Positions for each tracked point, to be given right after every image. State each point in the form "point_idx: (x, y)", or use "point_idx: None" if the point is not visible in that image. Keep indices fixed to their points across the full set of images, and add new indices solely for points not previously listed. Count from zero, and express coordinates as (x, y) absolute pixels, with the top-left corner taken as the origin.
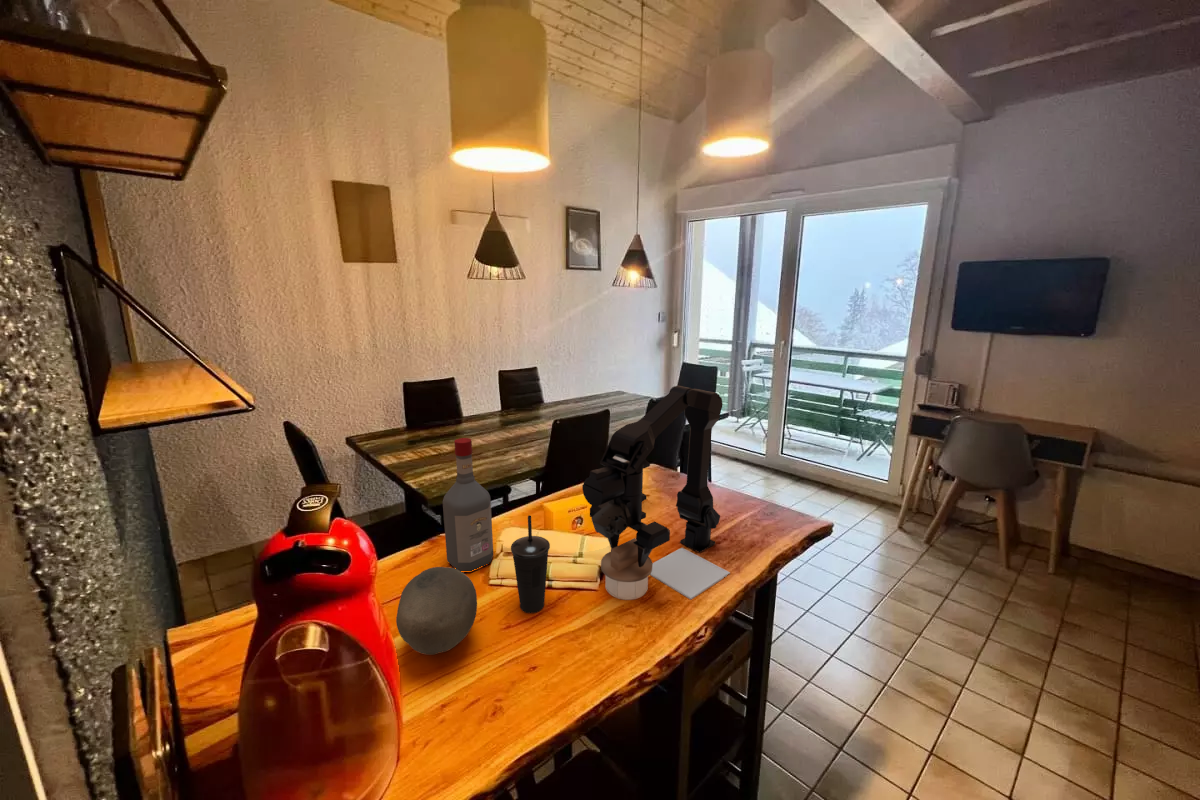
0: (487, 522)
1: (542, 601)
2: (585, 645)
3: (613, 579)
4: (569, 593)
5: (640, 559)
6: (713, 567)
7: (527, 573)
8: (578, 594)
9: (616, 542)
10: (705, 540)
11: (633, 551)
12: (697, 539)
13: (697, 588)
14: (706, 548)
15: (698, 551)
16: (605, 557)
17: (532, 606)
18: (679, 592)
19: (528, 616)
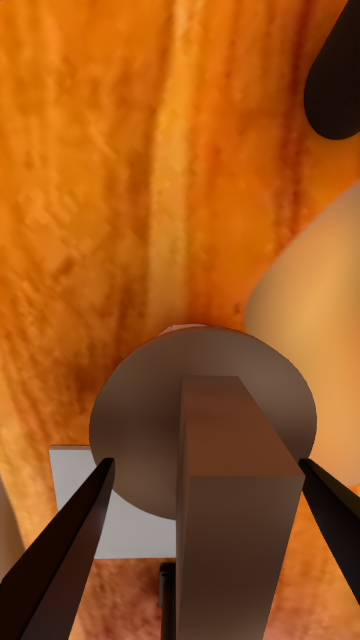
0: None
1: (328, 68)
2: (77, 93)
3: (176, 330)
4: (289, 238)
5: (51, 526)
6: (100, 550)
7: None
8: (265, 256)
9: (331, 532)
10: (162, 616)
11: (179, 541)
12: (173, 615)
13: (66, 482)
14: (159, 583)
15: (164, 567)
16: (301, 404)
17: (340, 14)
18: (86, 446)
19: (315, 35)
